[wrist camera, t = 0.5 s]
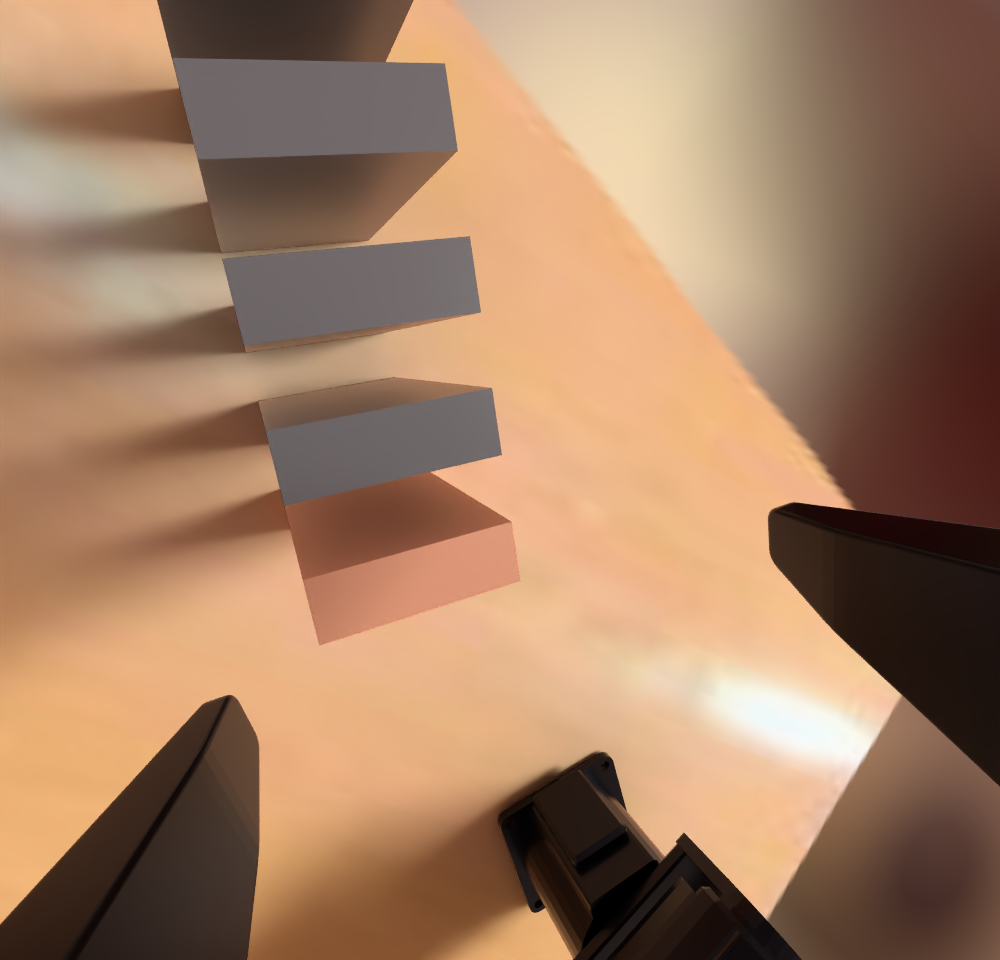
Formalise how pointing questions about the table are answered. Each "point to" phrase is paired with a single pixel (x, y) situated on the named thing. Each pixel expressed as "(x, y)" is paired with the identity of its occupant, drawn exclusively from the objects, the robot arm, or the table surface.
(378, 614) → the domino
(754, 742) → the table surface
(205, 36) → the domino
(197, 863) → the robot arm
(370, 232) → the domino
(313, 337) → the domino
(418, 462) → the domino
